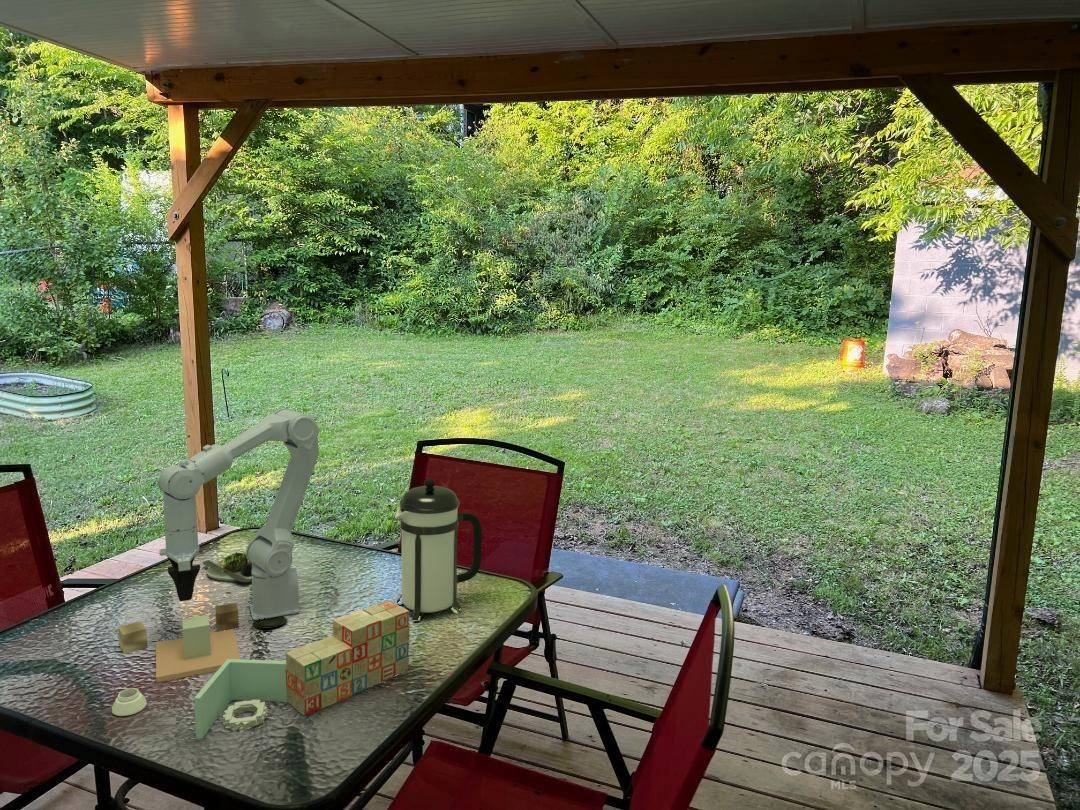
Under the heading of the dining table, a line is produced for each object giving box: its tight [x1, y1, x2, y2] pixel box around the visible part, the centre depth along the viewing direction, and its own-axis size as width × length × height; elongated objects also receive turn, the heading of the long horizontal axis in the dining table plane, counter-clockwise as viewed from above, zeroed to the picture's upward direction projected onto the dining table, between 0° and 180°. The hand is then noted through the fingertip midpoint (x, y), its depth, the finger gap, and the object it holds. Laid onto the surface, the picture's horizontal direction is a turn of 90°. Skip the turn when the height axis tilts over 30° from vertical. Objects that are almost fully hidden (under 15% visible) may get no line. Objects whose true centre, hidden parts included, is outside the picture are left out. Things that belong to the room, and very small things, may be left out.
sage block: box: [181, 614, 211, 660], centre depth 138 cm, size 4×4×6 cm
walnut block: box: [215, 602, 240, 632], centre depth 151 cm, size 4×4×4 cm
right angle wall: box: [193, 658, 288, 740], centre depth 120 cm, size 12×12×8 cm
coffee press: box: [394, 477, 483, 620], centre depth 161 cm, size 17×16×30 cm
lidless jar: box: [111, 687, 148, 717], centre depth 121 cm, size 5×3×5 cm
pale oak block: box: [117, 621, 148, 655], centre depth 141 cm, size 4×4×4 cm
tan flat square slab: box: [155, 629, 241, 683], centre depth 139 cm, size 14×14×1 cm
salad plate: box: [202, 551, 252, 584], centre depth 179 cm, size 19×18×5 cm
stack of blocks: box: [285, 600, 410, 717], centre depth 130 cm, size 21×6×12 cm, turn 137°
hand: (184, 592), depth 145 cm, fingers open, 7 cm apart
